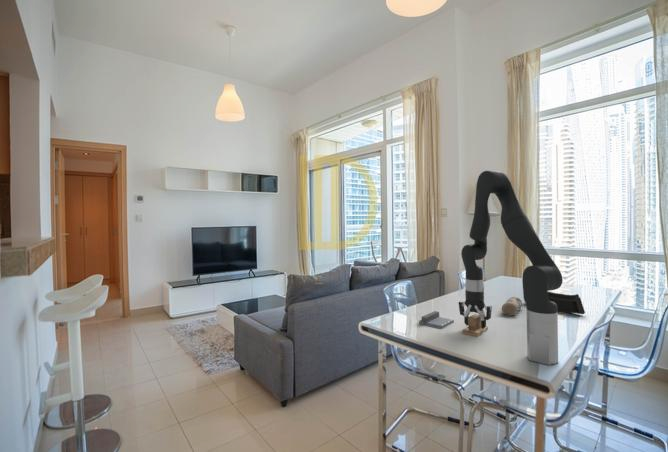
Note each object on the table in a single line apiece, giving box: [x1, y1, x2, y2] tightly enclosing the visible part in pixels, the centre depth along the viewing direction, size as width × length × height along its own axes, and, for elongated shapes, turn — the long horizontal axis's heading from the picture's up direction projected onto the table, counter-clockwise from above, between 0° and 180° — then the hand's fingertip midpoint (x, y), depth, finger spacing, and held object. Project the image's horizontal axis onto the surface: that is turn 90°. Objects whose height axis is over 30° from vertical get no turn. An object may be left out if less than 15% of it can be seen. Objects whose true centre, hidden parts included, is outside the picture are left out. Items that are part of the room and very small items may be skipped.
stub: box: [461, 313, 489, 337], centre depth 142 cm, size 12×7×7 cm, turn 135°
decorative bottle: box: [501, 296, 523, 317], centre depth 174 cm, size 26×8×7 cm, turn 142°
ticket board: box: [418, 310, 455, 329], centre depth 156 cm, size 13×12×4 cm
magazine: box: [548, 291, 586, 315], centre depth 173 cm, size 17×3×30 cm
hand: (475, 326), depth 142 cm, fingers open, 6 cm apart
